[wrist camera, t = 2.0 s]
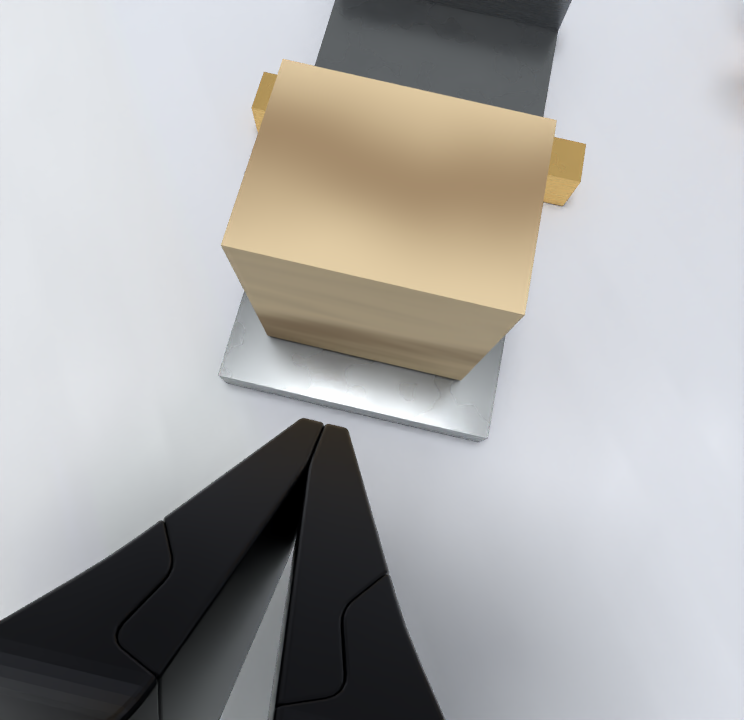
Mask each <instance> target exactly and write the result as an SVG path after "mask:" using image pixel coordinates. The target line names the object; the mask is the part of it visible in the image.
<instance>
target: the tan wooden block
mask: <svg viewBox="0 0 744 720" xmlns="http://www.w3.org/2000/svg"><path fill="white" fill-rule="evenodd" d="M556 121H557V120H553V119H549V118H544V117H540V116H536V115H531V114H527V113H522V112H518V111H513V110H509V109H504V108H500V107H495V106H491V105H486V104H482V103H478V102H473V101H469V100H464V99H460V98H455V97H451V96H446V95H442V94H437V93H433V92H428V91H424V90H419V89H415V88H411V87H406V86H402V85H397V84H393V83H388V82H384V81H379V80H375V79H370V78H366V77H361V76H357V75H353V74H348V73H344V72H339V71H335V70H330V69H326V68H321V67H317V66H312V65H308V64H303V63H299V62H294V61H290V60H286V59H283V60H282V63H281V66H280V69H279V72H278V75H277V78H276V81H275V84H274V87H273V90H272V93H271V96H270V99H269V102H268V105H267V108H266V111H265V114H264V117H263V120H262V123H261V126H260V129H259V132H258V135H257V138H256V141H255V144H254V147H253V150H252V153H251V156H250V159H249V162H248V165H247V168H246V171H245V174H244V177H243V180H242V183H241V186H240V189H239V192H238V195H237V198H236V201H235V204H234V207H233V210H232V213H231V216H230V219H229V222H228V225H227V228H226V231H225V234H224V237H223V240H222V243H221V246H222V248H223V250H224V252H225V254H226V256H227V258H228V260H229V262H230V264H231V266H232V267H233V269H234V271H235V273H236V275H237V277H238V279H239V281H240V283H241V285H242V287H243V289H244V291H245V293H246V295H247V297H248V299H249V300H250V302H251V304H252V306H253V308H254V310H255V312H256V314H257V316H258V318H259V320H260V322H261V324H262V326H263V328H264V330H265V332H266V334H267V335H268V336H271V337H276V338H280V339H284V340H289V341H293V342H297V343H302V344H306V345H310V346H314V347H319V348H323V349H327V350H332V351H336V352H340V353H344V354H349V355H353V356H357V357H362V358H366V359H370V360H374V361H379V362H383V363H387V364H392V365H396V366H400V367H405V368H409V369H413V370H417V371H422V372H426V373H430V374H435V375H439V376H443V377H447V378H452V379H456V380H460V381H461V380H462V379H463V378H464V377H465V376H466V375H467V374H468V373H469V372H470V371H471V370H472V369H473V368H474V367H475V365H476V364H477V363H478V362H479V361H480V360H481V359H482V358H483V357H484V356H485V355H486V354H487V353H488V352H489V351H490V350H491V349H492V348H493V347H494V346H495V345H496V344H497V343H498V342H499V341H500V340H501V339H502V338H503V337H504V336H505V335H506V334H507V333H508V332H509V331H510V330H511V328H512V327H513V326H514V325H515V324H516V323H517V322H518V321H519V320H520V319H521V318H522V317H523V316H524V315H525V310H526V304H527V298H528V292H529V285H530V279H531V273H532V267H533V261H534V255H535V249H536V243H537V237H538V231H539V225H540V219H541V213H542V206H543V200H544V194H545V188H546V182H547V176H548V170H549V164H550V158H551V152H552V146H553V140H554V134H555V127H556Z"/></svg>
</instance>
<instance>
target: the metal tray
mask: <svg viewBox="0 0 744 720" xmlns="http://www.w3.org/2000/svg"><path fill="white" fill-rule="evenodd" d="M571 1H572V0H335V3H334V6H333V9H332V12H331V15H330V19H329V22H328V25H327V28H326V31H325V35H324V38H323V41H322V44H321V47H320V51H319V54H318V57H317V60H316V64H315V66H317V67H321V68H326V69H330V70H335V71H339V72H344V73H348V74H353V75H357V76H361V77H366V78H370V79H375V80H379V81H384V82H388V83H393V84H397V85H402V86H406V87H411V88H415V89H419V90H424V91H428V92H433V93H437V94H442V95H446V96H451V97H455V98H460V99H464V100H469V101H473V102H478V103H482V104H486V105H491V106H495V107H500V108H504V109H509V110H513V111H518V112H522V113H527V114H531V115H536V116H540V117H543V115H544V109H545V103H546V97H547V91H548V86H549V80H550V74H551V68H552V62H553V57H554V51H555V45H556V39H557V33H558V30H559V27H560V25H561V23H562V21H563V19H564V16H565V14H566V12H567V10H568V7H569V5H570V3H571ZM276 78H277V75H276V74H271V73H267V72H264V73H263V76H262V79H261V82H260V85H259V88H258V91H257V94H256V97H255V100H254V103H253V105H252V111H253V115H254V119H255V123H256V127H257V131H258V132H259V129H260V126H261V123H262V120H263V117H264V114H265V111H266V108H267V105H268V102H269V99H270V96H271V93H272V90H273V87H274V84H275V81H276ZM585 147H586V144H583V143H579V142H574V141H570V140H565V139H561V138H556V137H554V140H553V146H552V152H551V158H550V164H549V170H548V176H547V182H546V188H545V194H544V200H543V202H547V203H552V204H556V205H560V206H563V205H564V204H565V202H566V201H567V200H568V198H569V197H570V196H571V194H572V193H573V192H574V190H575V189H576V187H577V186H578V185H579V183H580V182H581V175H582V168H583V161H584V154H585ZM504 340H505V336H504V337H503V338H502V339H501V340H500V341H499V342H498V343H497V344H496V345H495V346H494V347H493V348H492V349H491V350H490V351H489V352H488V353H487V354H486V355H485V356H484V357H483V358H482V359H481V360H480V361H479V362H478V363H477V364H476V365H475V367H474V368H473V369H472V370H471V371H470V372H469V373H468V374H467V375H466V376H465V377H464V378H463V379H462V380H461V381H460V380H456V379H452V378H447V377H443V376H439V375H435V374H430V373H426V372H422V371H417V370H413V369H409V368H405V367H400V366H396V365H392V364H387V363H383V362H379V361H374V360H370V359H366V358H362V357H357V356H353V355H349V354H344V353H340V352H336V351H332V350H327V349H323V348H319V347H314V346H310V345H306V344H302V343H297V342H293V341H289V340H284V339H280V338H276V337H271V336H268V335H267V334H266V332H265V330H264V328H263V326H262V324H261V322H260V320H259V318H258V316H257V314H256V312H255V310H254V308H253V306H252V304H251V302H250V300H249V299H248V297H247V295H246V293H245V291H244V294H243V297H242V300H241V304H240V307H239V310H238V313H237V316H236V320H235V323H234V326H233V329H232V332H231V336H230V339H229V342H228V345H227V348H226V352H225V355H224V358H223V361H222V364H221V368H220V371H219V374H218V376H220V377H221V378H222V379H223V380H224V381H225V382H226V383H229V384H233V385H238V386H242V387H246V388H250V389H255V390H259V391H263V392H267V393H272V394H276V395H280V396H284V397H289V398H293V399H297V400H302V401H306V402H310V403H314V404H319V405H323V406H327V407H331V408H336V409H340V410H344V411H348V412H353V413H357V414H361V415H365V416H370V417H374V418H378V419H382V420H387V421H391V422H395V423H399V424H404V425H408V426H412V427H417V428H421V429H425V430H429V431H434V432H438V433H442V434H446V435H451V436H455V437H459V438H463V439H468V440H472V441H476V442H480V441H482V440H485V439H487V438H488V433H489V427H490V422H491V416H492V410H493V404H494V398H495V393H496V387H497V381H498V375H499V369H500V364H501V358H502V352H503V346H504Z"/></svg>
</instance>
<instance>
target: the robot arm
mask: <svg viewBox="0 0 744 720" xmlns="http://www.w3.org/2000/svg"><path fill="white" fill-rule="evenodd" d="M295 539H296V540H295ZM294 542H295V546H294ZM293 546H294V551H293V557H292V564H291V570H290V577H289V583H288V590H287V596H286V603H285V609H284V616H283V622H282V629H281V635H280V642H279V648H278V655H277V661H276V668H275V674H274V681H273V687H272V694H271V700H270V707H269V714H268V720H445V718H444V716H443V713H442V711H441V709H440V706H439V704H438V702H437V699H436V697H435V695H434V693H433V690H432V688H431V686H430V683H429V681H428V679H427V676H426V674H425V672H424V670H423V667H422V665H421V663H420V660H419V658H418V655H417V653H416V650H415V648H414V645H413V643H412V640H411V638H410V635H409V633H408V630H407V628H406V625H405V622H404V619H403V616H402V613H401V610H400V606H399V603H398V600H397V597H396V594H395V590H394V587H393V583H392V580H391V577H390V575H388V574H389V570H388V567H387V563H386V560H385V557H384V553H383V550H382V546H381V543H380V539H379V536H378V532H377V529H376V525H375V522H374V518H373V515H372V511H371V508H370V504H369V501H368V497H367V494H366V490H365V487H364V483H363V480H362V476H361V473H360V470H359V466H358V463H357V459H356V456H355V452H354V449H353V445H352V442H351V438H350V435H349V432H348V430H347V429H346V428H344V427H340V426H335V425H331V424H326V425H325V426H324V425H323V423H322V422H318V421H314V420H310V419H306V418H302V419H300V420H298V421H297V422H295V423H294V424H293V425H291V426H290V427H288V428H287V429H286V430H284V431H283V432H282V433H280V434H279V435H277V436H276V437H275V438H273V439H272V440H271V441H269V442H268V443H266V444H265V445H264V446H262V447H261V448H260V449H258V450H257V451H255V452H254V453H253V454H251V455H250V456H248V457H247V458H246V459H244V460H243V461H242V462H240V463H239V464H237V465H236V466H235V467H233V468H232V469H231V470H229V471H228V472H226V473H225V474H224V475H222V476H221V477H220V478H218V479H217V480H215V481H214V482H213V483H211V484H210V485H209V486H207V487H206V488H204V489H203V490H202V491H200V492H199V493H198V494H196V495H195V496H193V497H192V498H191V499H189V500H188V501H187V502H185V503H184V504H182V505H181V506H180V507H178V508H177V509H176V510H174V511H173V512H171V513H170V514H169V515H167V516H166V517H165V518H164V521H162V520H161V521H159V522H157V523H156V524H155V525H153V526H152V527H150V528H149V529H148V530H146V531H145V532H143V533H142V534H141V535H139V536H138V537H136V538H135V539H133V540H132V541H130V542H129V543H128V544H126V545H125V546H123V547H122V548H120V549H119V550H117V551H116V552H114V553H113V554H112V555H110V556H108V557H107V558H105V559H103V560H102V561H100V562H99V563H97V564H95V565H94V566H92V567H90V568H89V569H87V570H86V571H84V572H82V573H81V574H79V575H77V576H76V577H74V578H72V579H71V580H69V581H67V582H66V583H64V584H62V585H61V586H59V587H57V588H55V589H54V590H52V591H50V592H49V593H47V594H45V595H43V596H42V597H40V598H38V599H37V600H35V601H33V602H31V603H30V604H28V605H26V606H25V607H23V608H21V609H20V610H18V611H16V612H14V613H13V614H11V615H9V616H8V617H6V618H4V619H2V620H1V621H0V720H219V719H220V717H221V714H222V712H223V710H224V707H225V705H226V703H227V700H228V698H229V696H230V693H231V691H232V689H233V686H234V684H235V682H236V679H237V677H238V675H239V672H240V670H241V668H242V665H243V663H244V661H245V658H246V656H247V654H248V651H249V649H250V647H251V644H252V642H253V640H254V637H255V635H256V633H257V630H258V628H259V626H260V623H261V621H262V619H263V616H264V614H265V612H266V609H267V607H268V605H269V602H270V600H271V598H272V595H273V593H274V591H275V588H276V586H277V584H278V581H279V579H280V577H281V574H282V572H283V570H284V568H285V565H286V563H287V561H288V558H289V556H290V553H291V551H292V548H293Z"/></svg>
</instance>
